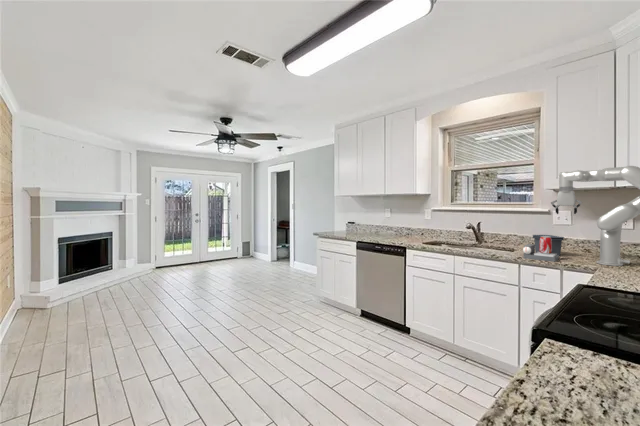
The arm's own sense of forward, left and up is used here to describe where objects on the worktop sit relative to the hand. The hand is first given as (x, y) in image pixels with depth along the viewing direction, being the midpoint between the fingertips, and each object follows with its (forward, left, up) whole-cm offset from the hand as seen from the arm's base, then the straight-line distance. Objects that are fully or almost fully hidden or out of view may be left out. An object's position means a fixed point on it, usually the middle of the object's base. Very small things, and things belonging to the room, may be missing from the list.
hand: (566, 213), depth 217 cm
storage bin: (+12, -12, -32) cm, 36 cm away
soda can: (+9, +12, -28) cm, 32 cm away
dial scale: (+12, +12, -32) cm, 36 cm away
